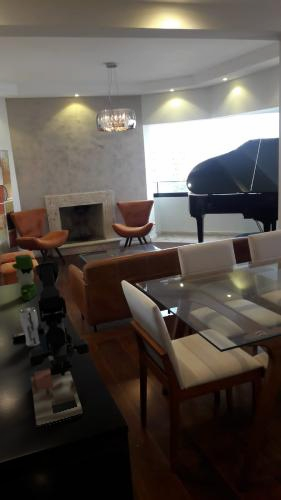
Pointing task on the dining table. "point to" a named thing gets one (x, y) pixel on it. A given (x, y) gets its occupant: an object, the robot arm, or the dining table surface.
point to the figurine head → (25, 276)
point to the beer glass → (30, 325)
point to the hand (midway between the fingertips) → (63, 375)
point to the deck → (55, 399)
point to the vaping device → (42, 338)
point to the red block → (43, 379)
